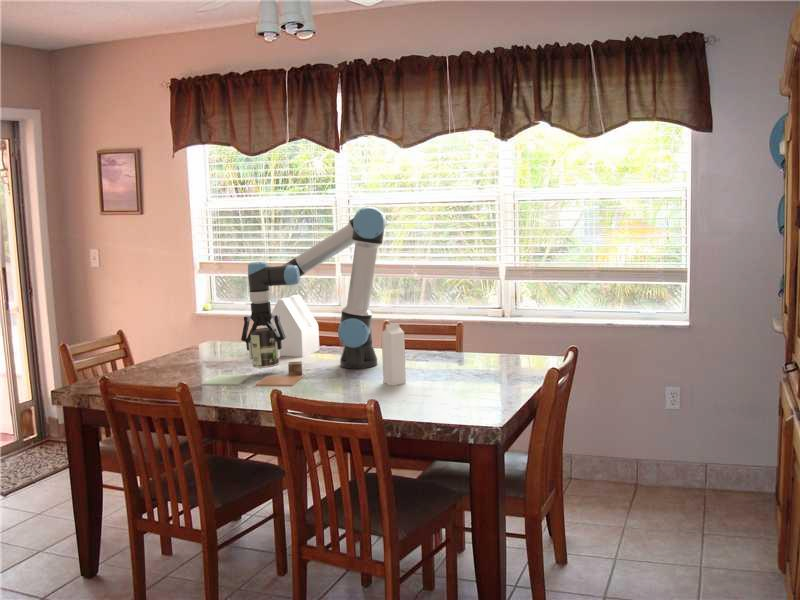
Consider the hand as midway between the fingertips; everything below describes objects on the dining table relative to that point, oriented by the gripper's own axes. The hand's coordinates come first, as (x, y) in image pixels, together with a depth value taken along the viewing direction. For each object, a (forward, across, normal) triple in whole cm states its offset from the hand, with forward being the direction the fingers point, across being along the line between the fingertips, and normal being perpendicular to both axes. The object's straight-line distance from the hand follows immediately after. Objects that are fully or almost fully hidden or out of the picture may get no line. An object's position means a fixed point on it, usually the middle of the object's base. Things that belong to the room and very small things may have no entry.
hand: (265, 358), depth 306 cm
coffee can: (+3, 0, 0) cm, 3 cm away
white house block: (+7, +3, -43) cm, 44 cm away
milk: (+8, -53, +12) cm, 55 cm away
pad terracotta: (+7, -9, +11) cm, 16 cm away
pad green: (+6, +12, +11) cm, 17 cm away
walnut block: (+7, -12, +1) cm, 14 cm away
